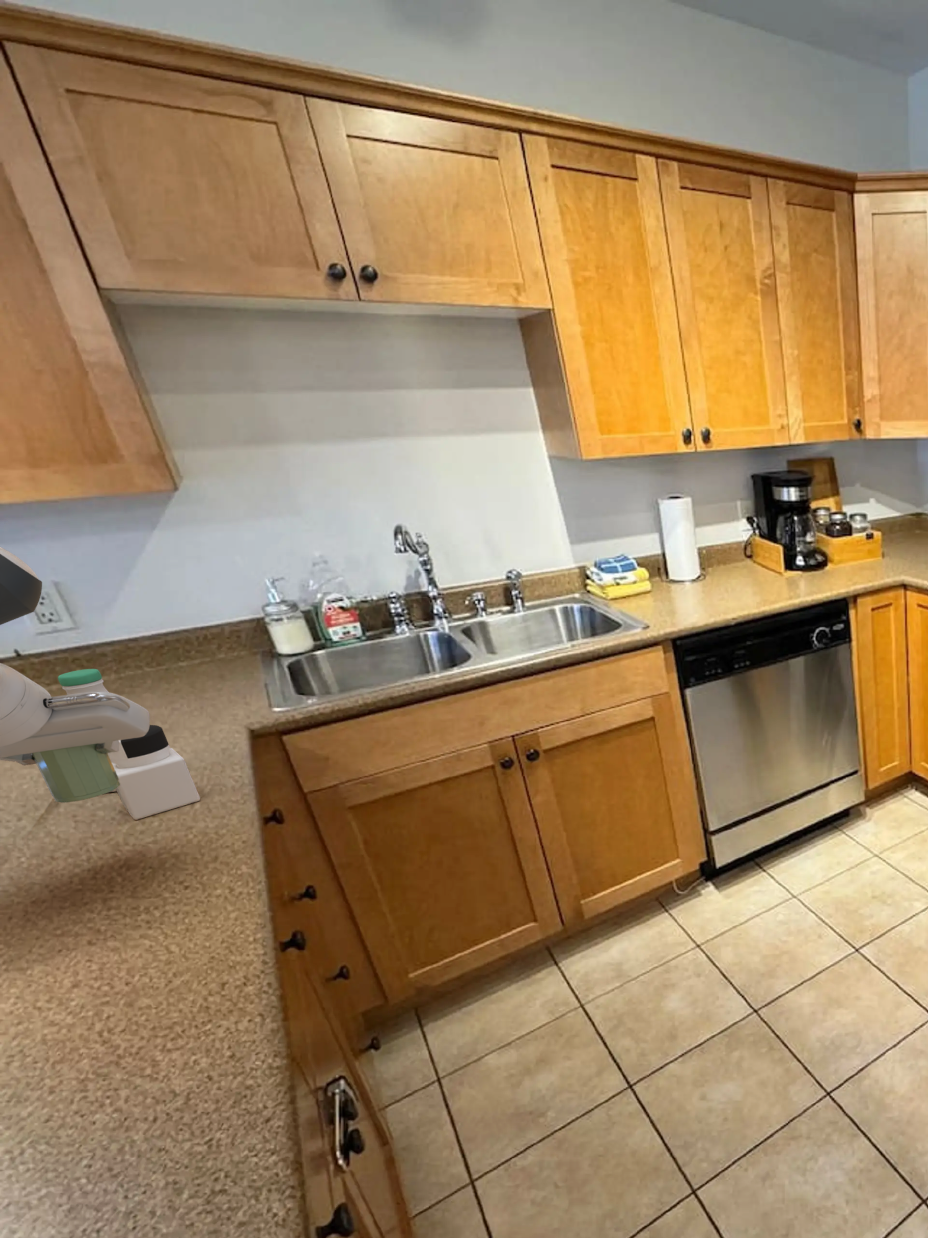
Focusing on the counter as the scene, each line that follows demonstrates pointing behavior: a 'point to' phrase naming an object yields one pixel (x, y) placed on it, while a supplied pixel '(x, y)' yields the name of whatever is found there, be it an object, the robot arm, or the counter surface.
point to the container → (152, 775)
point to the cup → (76, 772)
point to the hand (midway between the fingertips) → (73, 753)
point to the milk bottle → (82, 683)
